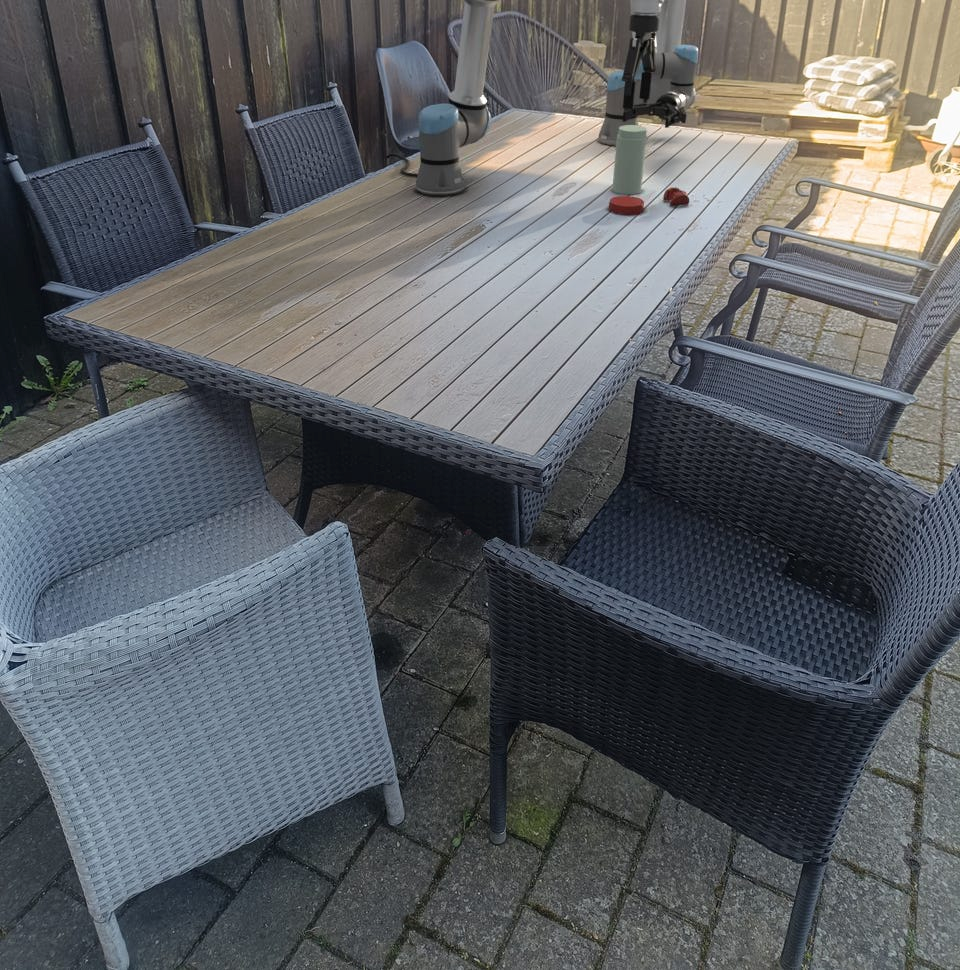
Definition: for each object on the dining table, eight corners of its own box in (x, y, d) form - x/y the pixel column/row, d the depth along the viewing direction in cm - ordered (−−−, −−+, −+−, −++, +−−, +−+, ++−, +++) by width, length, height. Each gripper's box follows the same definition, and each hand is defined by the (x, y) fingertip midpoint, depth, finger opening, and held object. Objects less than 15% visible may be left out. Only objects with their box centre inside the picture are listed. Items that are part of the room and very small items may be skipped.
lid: (601, 208, 244) (602, 199, 243) (626, 202, 249) (627, 193, 247) (625, 217, 237) (626, 208, 236) (650, 210, 242) (651, 202, 241)
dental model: (680, 183, 249) (692, 191, 242) (678, 197, 251) (690, 206, 245) (662, 185, 248) (674, 193, 241) (661, 199, 250) (672, 208, 244)
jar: (646, 190, 258) (653, 128, 248) (630, 196, 253) (636, 133, 243) (623, 184, 263) (629, 123, 253) (606, 190, 258) (611, 128, 248)
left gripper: (644, 20, 204) (634, 114, 216) (674, 9, 222) (663, 96, 234) (614, 18, 206) (607, 111, 219) (646, 7, 224) (638, 93, 237)
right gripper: (705, 122, 266) (682, 138, 251) (632, 112, 276) (605, 127, 261) (709, 97, 261) (686, 111, 247) (634, 88, 271) (608, 101, 257)
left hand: (636, 103), depth 226 cm, fingers open, 13 cm apart
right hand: (645, 119), depth 254 cm, fingers open, 13 cm apart
